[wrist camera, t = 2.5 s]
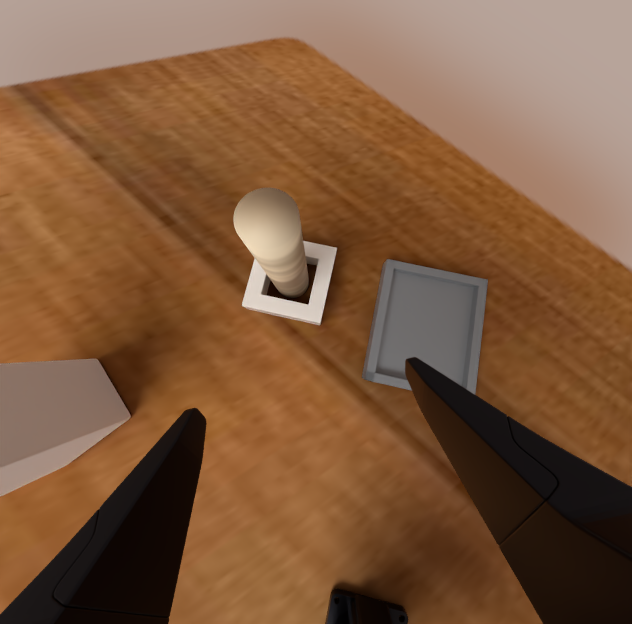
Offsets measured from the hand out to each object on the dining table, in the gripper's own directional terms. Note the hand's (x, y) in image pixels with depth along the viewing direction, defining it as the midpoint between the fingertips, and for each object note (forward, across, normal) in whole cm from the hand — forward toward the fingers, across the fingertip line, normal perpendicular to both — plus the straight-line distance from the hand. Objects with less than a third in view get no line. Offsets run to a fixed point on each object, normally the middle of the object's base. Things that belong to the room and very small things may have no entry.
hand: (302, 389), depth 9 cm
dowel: (+16, +1, +2) cm, 16 cm away
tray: (+11, -11, +8) cm, 18 cm away
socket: (+16, +1, +2) cm, 16 cm away
